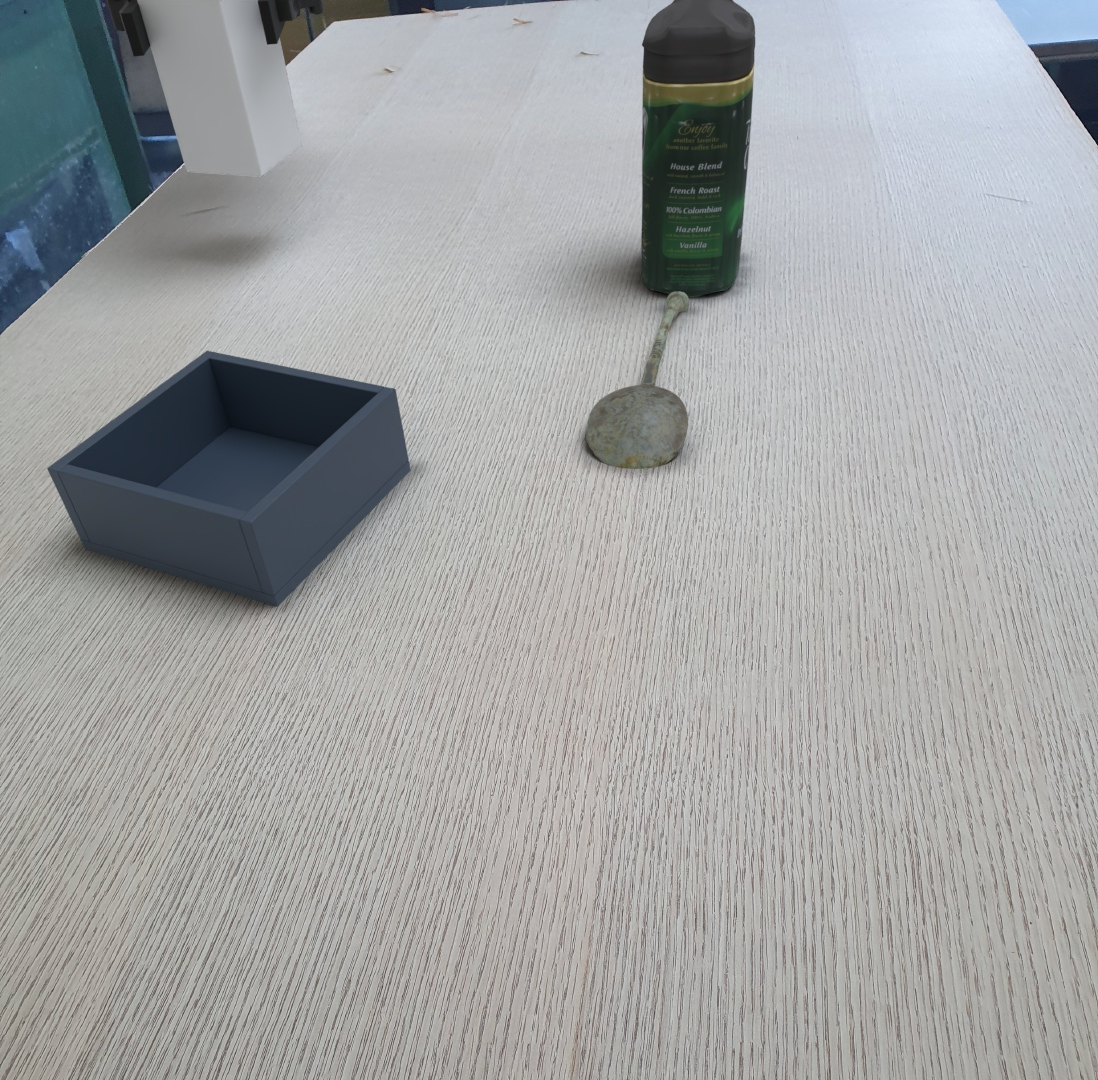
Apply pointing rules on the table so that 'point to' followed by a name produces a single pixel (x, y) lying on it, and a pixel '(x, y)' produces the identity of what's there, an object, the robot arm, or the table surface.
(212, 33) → the milk carton
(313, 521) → the bin
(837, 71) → the table surface
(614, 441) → the soupspoon
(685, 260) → the coffee jar
